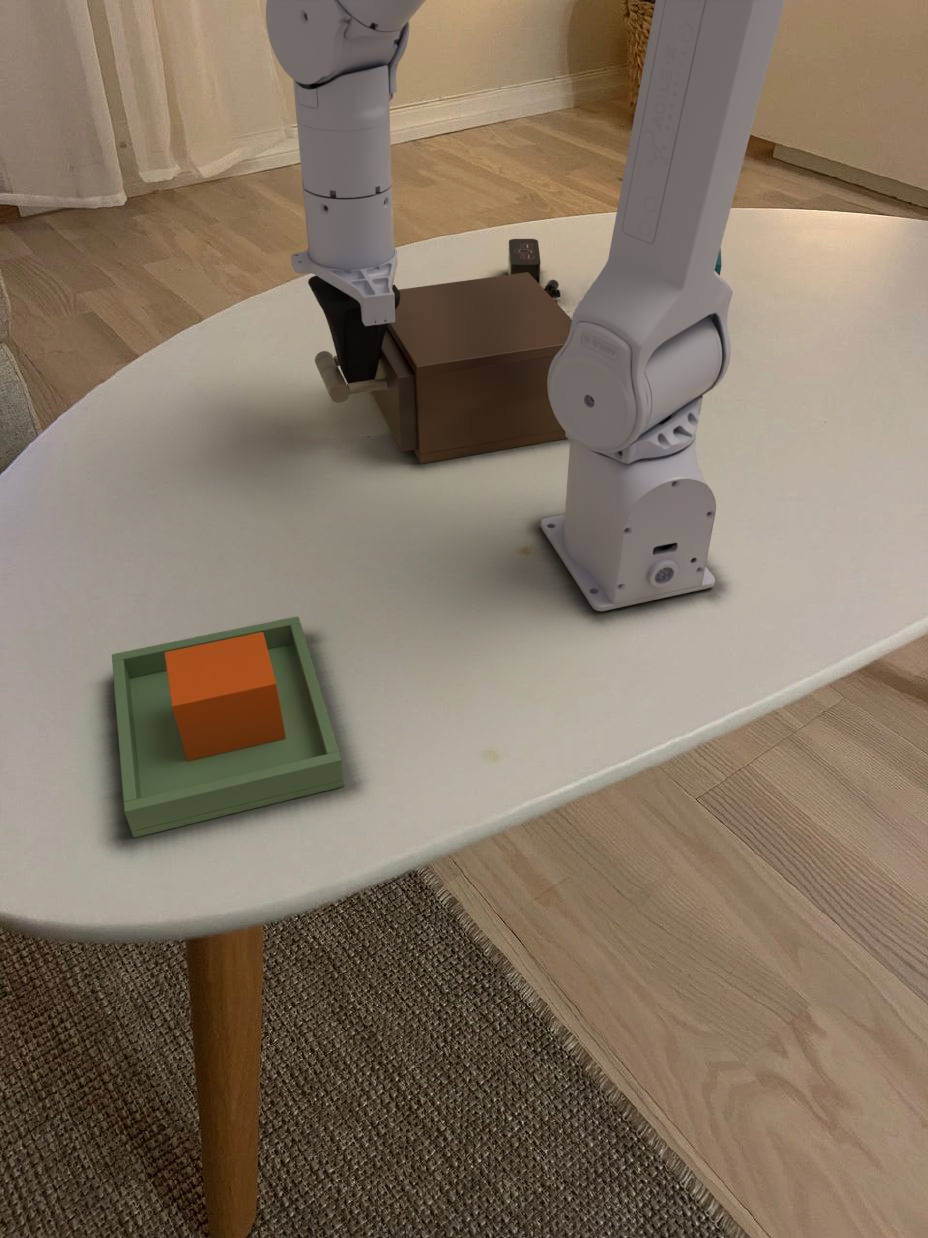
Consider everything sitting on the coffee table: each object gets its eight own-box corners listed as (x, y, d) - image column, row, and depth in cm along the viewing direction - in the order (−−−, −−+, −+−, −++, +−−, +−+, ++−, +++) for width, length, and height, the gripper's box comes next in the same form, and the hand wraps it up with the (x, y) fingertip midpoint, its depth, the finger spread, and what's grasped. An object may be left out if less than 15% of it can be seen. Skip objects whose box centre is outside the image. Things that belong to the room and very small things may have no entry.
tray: (345, 786, 50) (341, 759, 49) (133, 838, 48) (124, 811, 47) (302, 641, 58) (298, 615, 57) (119, 680, 56) (111, 653, 55)
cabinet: (420, 464, 72) (416, 366, 68) (377, 383, 82) (371, 292, 77) (583, 435, 75) (591, 339, 70) (524, 361, 84) (528, 271, 79)
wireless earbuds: (509, 302, 93) (510, 268, 91) (507, 271, 99) (508, 238, 96) (560, 302, 93) (562, 267, 91) (555, 271, 98) (557, 238, 96)
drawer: (343, 461, 71) (336, 387, 67) (312, 387, 79) (303, 316, 76) (552, 425, 75) (556, 352, 71) (501, 358, 83) (502, 289, 79)
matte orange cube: (286, 739, 52) (276, 683, 49) (187, 762, 51) (171, 706, 48) (273, 686, 55) (263, 631, 52) (179, 707, 54) (164, 651, 51)
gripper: (265, 155, 69) (285, 342, 78) (308, 230, 59) (326, 435, 68) (365, 147, 71) (374, 330, 80) (425, 218, 60) (428, 419, 69)
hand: (359, 377), depth 74 cm, fingers closed, pressing on drawer
